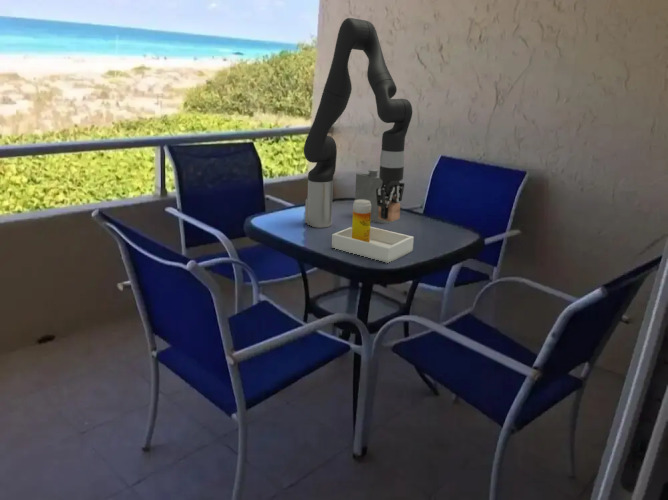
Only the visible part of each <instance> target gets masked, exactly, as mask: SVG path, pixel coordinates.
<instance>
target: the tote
mask: <svg viewBox="0 0 668 500" xmlns="http://www.w3.org/2000/svg"><path fill="white" fill-rule="evenodd" d="M414 239H415V236H412V235H409V234H408V235H407V234H405V233H404V234H403V233H400V232H395V231H391V230H387V229H382V228H378V227H374V226H370V241H369V242H365V241H361V240H357V239H353V238H352V226H349V227H348V228H345V229H343V230H339V231H337V232H335V233H332V234H331V249H332V248H335V249H334V250H336V249H339V250H343V251H346V252H349V253H348V254H350V253H353V254H352V255H354V254H357V255H360V256H359V257H361V256H364V257H363V258H365V257H368V258H371V259H370V260H372V259H375V260H374V261H376V260H379V261H383V262H386V263H385V264H387V263H388V264H390V263H392V262H394V261H396V260H399V259H400V258H403V257H404V256H406V255H408V254H410V253H412V252H413V250H414V241H415V240H414ZM339 250H338V251H339ZM343 251H342V252H343ZM346 252H345V253H346ZM357 255H356V256H357ZM368 258H367V259H368ZM379 261H378V262H379ZM391 261H392V262H391ZM383 262H382V263H383ZM389 262H390V263H389Z"/></svg>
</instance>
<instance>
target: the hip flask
mask: <svg viewBox="0 0 668 500" xmlns="http://www.w3.org/2000/svg"><path fill="white" fill-rule="evenodd" d="M378 174H379V170H378V169H376V168H372V169H371V168H369V169H368V172H356V173H355V191H354V193H355V195H354V201H355V200H359V199H363V200H369V201H370V203H371V223H378V224H383V225H385V224H386V225H387V224H388V225H389V224H390V223H391V222H390V221H386V220H381V219H378V212H379V206H377V197H376V189H377V188H379V189H380V188H381V186H382V182H383V181H382V180H381V179H380V178H379V175H378ZM385 197H386V196H385ZM386 198H388V197H386ZM385 201H386V200H385ZM380 202H381V200H380ZM390 202H391V201H390Z"/></svg>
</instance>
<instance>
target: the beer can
mask: <svg viewBox="0 0 668 500" xmlns="http://www.w3.org/2000/svg"><path fill="white" fill-rule="evenodd" d="M351 223H352V224H351V227H352V238H353V239H357V240H361V241H365V242H369V241H370V227H371V223H372V221H371V203H370V201H369V200H363V199H359V200H355V199H354V201H353V204H352V221H351Z"/></svg>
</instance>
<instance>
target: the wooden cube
mask: <svg viewBox="0 0 668 500" xmlns="http://www.w3.org/2000/svg"><path fill="white" fill-rule="evenodd" d="M385 202H386V201H385ZM400 215H401V203H400V202H399V203H395V202H389V206H388V218H387V219H382V218H381V207H380V206H379V212H378V219H381V220H386V221H390V223H391V222H394V221H397V220H399V219H400V218H401V217H400Z"/></svg>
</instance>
